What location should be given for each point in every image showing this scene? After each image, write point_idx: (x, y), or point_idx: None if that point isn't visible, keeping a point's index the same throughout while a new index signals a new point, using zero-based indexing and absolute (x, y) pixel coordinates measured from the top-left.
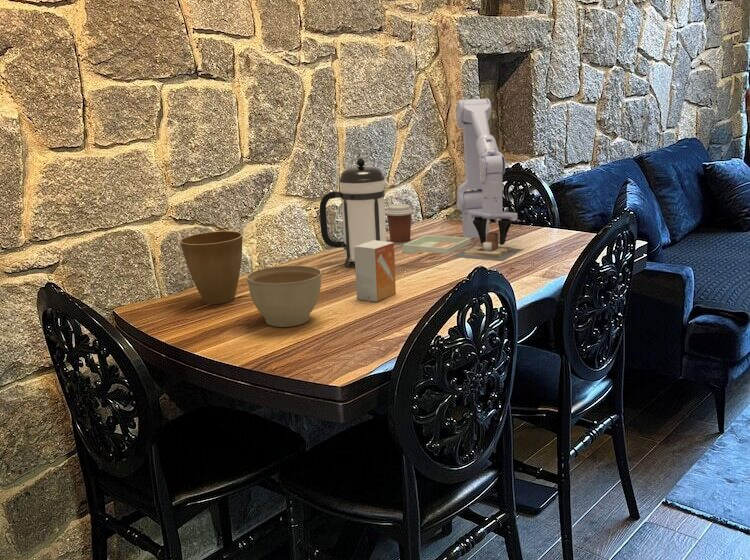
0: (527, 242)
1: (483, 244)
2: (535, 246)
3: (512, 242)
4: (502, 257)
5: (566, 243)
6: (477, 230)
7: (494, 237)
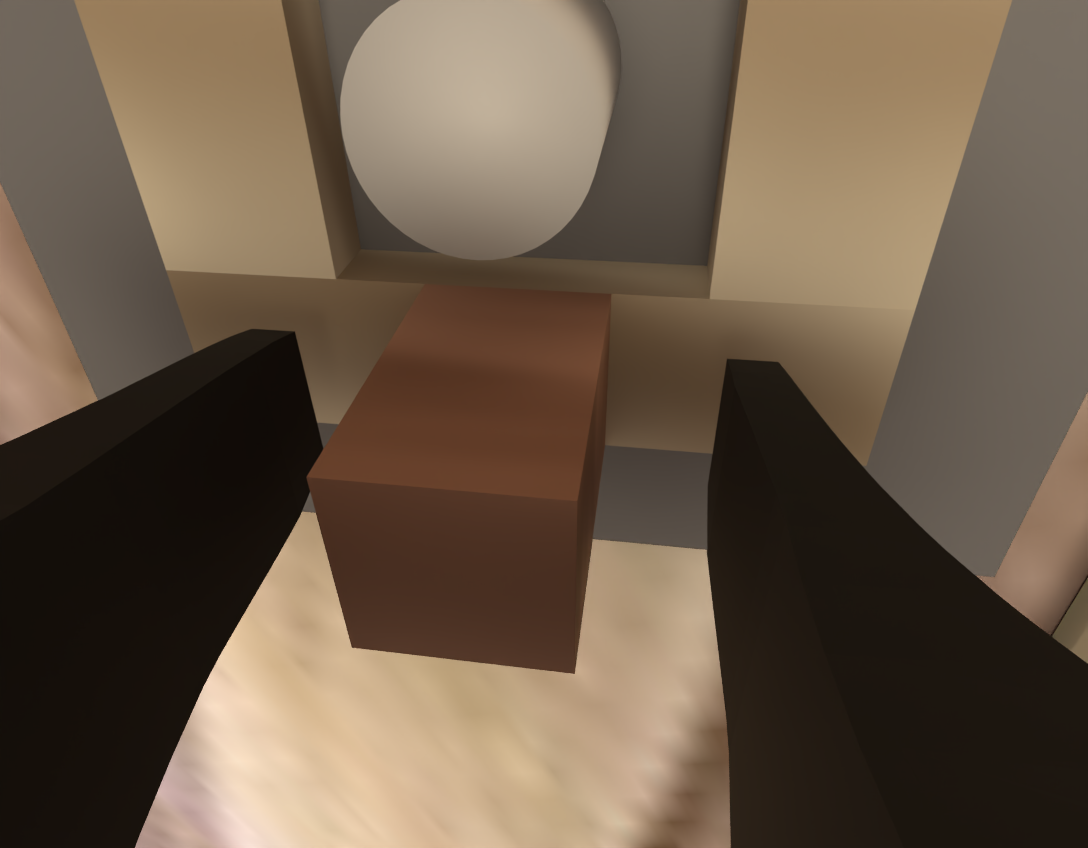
0: (422, 805)
1: (579, 42)
2: (257, 703)
3: (561, 800)
4: None
5: None
6: (963, 573)
7: (355, 419)
